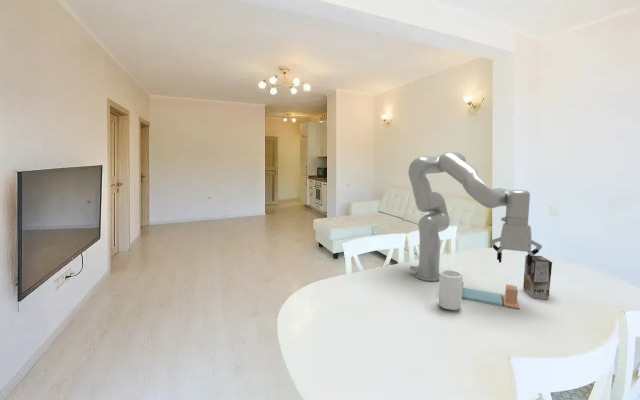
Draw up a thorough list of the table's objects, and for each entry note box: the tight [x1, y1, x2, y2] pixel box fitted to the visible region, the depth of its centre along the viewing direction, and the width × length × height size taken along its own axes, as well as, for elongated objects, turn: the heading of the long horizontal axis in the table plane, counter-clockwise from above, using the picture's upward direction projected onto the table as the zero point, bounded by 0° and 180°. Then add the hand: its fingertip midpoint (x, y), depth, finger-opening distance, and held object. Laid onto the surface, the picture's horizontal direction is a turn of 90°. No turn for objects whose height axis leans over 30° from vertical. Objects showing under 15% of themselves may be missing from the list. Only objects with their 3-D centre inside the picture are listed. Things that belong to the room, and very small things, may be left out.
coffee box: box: [522, 254, 553, 300], centre depth 129 cm, size 9×6×16 cm
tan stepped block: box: [502, 284, 520, 310], centre depth 122 cm, size 5×10×6 cm, turn 152°
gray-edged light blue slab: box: [462, 287, 505, 307], centre depth 128 cm, size 18×13×3 cm
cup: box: [438, 269, 464, 311], centre depth 117 cm, size 8×8×14 cm
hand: (513, 263), depth 120 cm, fingers open, 9 cm apart
